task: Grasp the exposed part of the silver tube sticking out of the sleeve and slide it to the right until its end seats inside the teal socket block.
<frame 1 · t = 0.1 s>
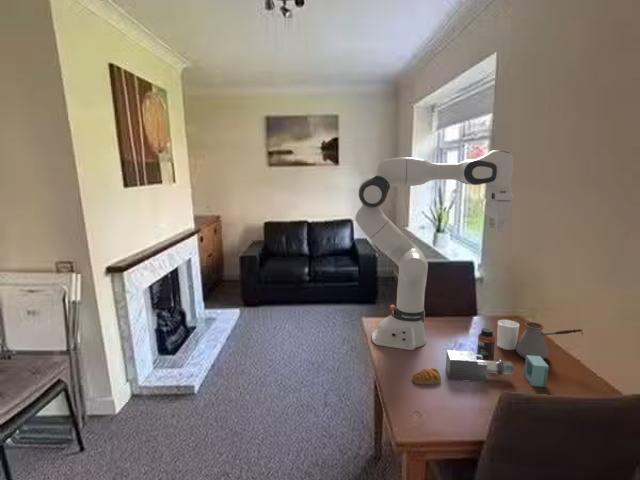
hand: (494, 229, 153), 48 cm above the table, tool pointing down, fingers open, 8 cm apart
white cup: (506, 346, 161), on the table
socket: (534, 380, 135), on the table
coffee pot: (545, 360, 150), on the table
sleeve: (466, 375, 138), on the table
pastry: (427, 381, 136), on the table
tube: (482, 366, 137), point 4 cm above the table, slide at 0.0 cm
supplement bottle: (485, 357, 152), on the table
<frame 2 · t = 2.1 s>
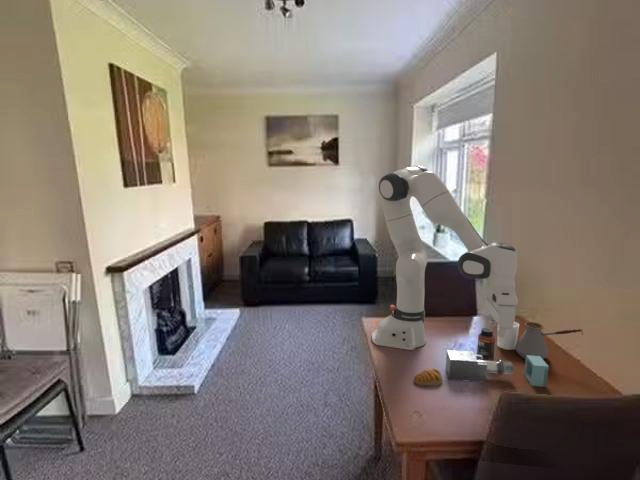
hand: (496, 330, 134), 17 cm above the table, tool pointing down, fingers open, 8 cm apart
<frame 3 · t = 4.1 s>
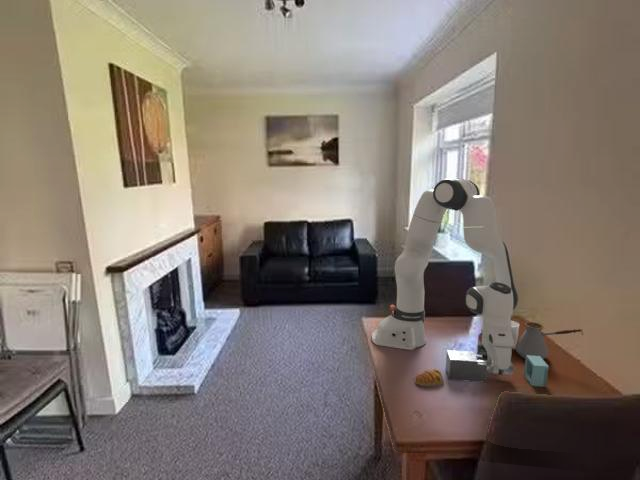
hand: (492, 368, 137), 3 cm above the table, tool pointing down, fingers closed on tube, 4 cm apart
tube: (482, 366, 137), point 4 cm above the table, slide at 0.0 cm, touching gripper
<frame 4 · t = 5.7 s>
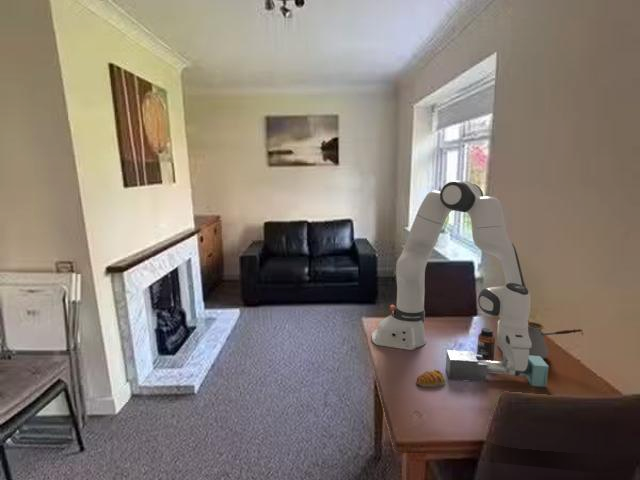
hand: (508, 369, 136), 3 cm above the table, tool pointing down, fingers closed on tube, 4 cm apart
tube: (498, 367, 136), point 4 cm above the table, slide at 5.3 cm, touching gripper
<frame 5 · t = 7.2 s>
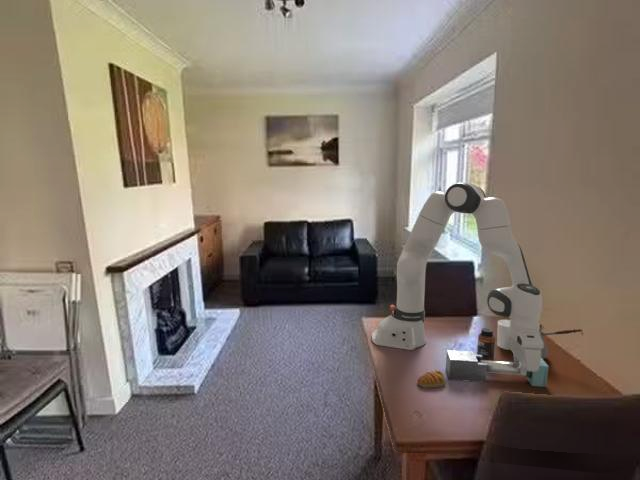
hand: (519, 370, 135), 3 cm above the table, tool pointing down, fingers closed on tube, 4 cm apart
tube: (509, 367, 136), point 4 cm above the table, slide at 8.8 cm, touching gripper
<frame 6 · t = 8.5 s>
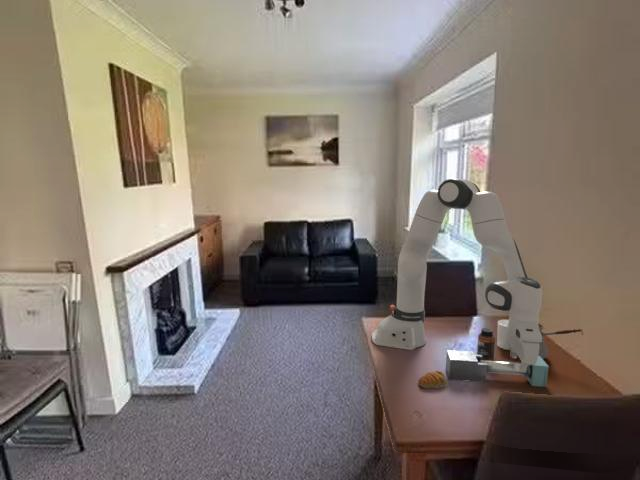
hand: (517, 364, 135), 6 cm above the table, tool pointing down, fingers open, 8 cm apart
tube: (509, 367, 136), point 4 cm above the table, slide at 8.8 cm
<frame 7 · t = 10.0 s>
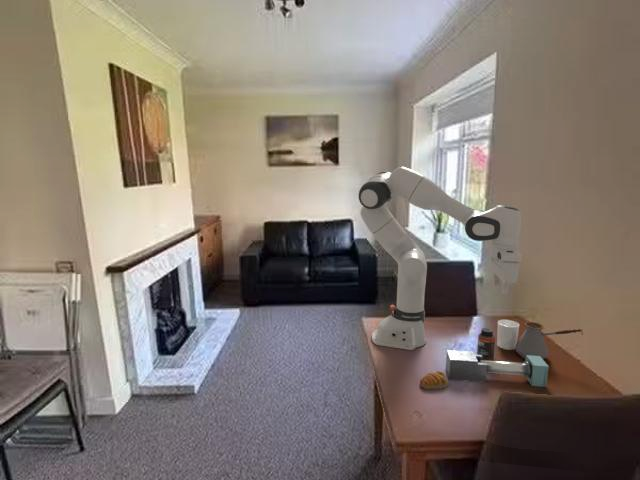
hand: (500, 288, 142), 29 cm above the table, tool pointing down, fingers open, 8 cm apart
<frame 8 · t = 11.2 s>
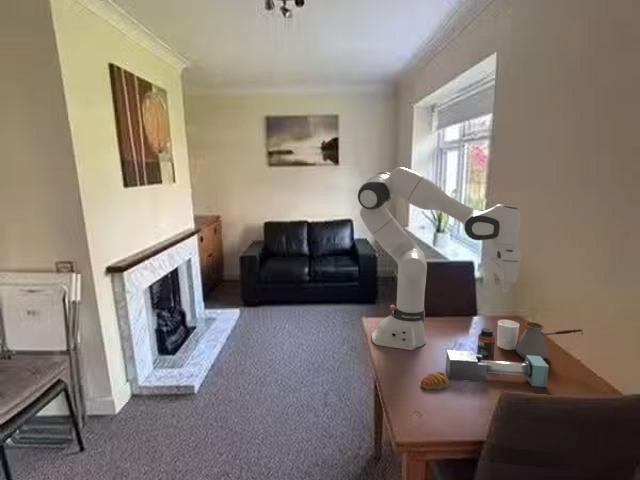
hand: (500, 288, 142), 29 cm above the table, tool pointing down, fingers open, 8 cm apart
at the end: tube slide at 8.8 cm; the gripper is holding nothing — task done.
